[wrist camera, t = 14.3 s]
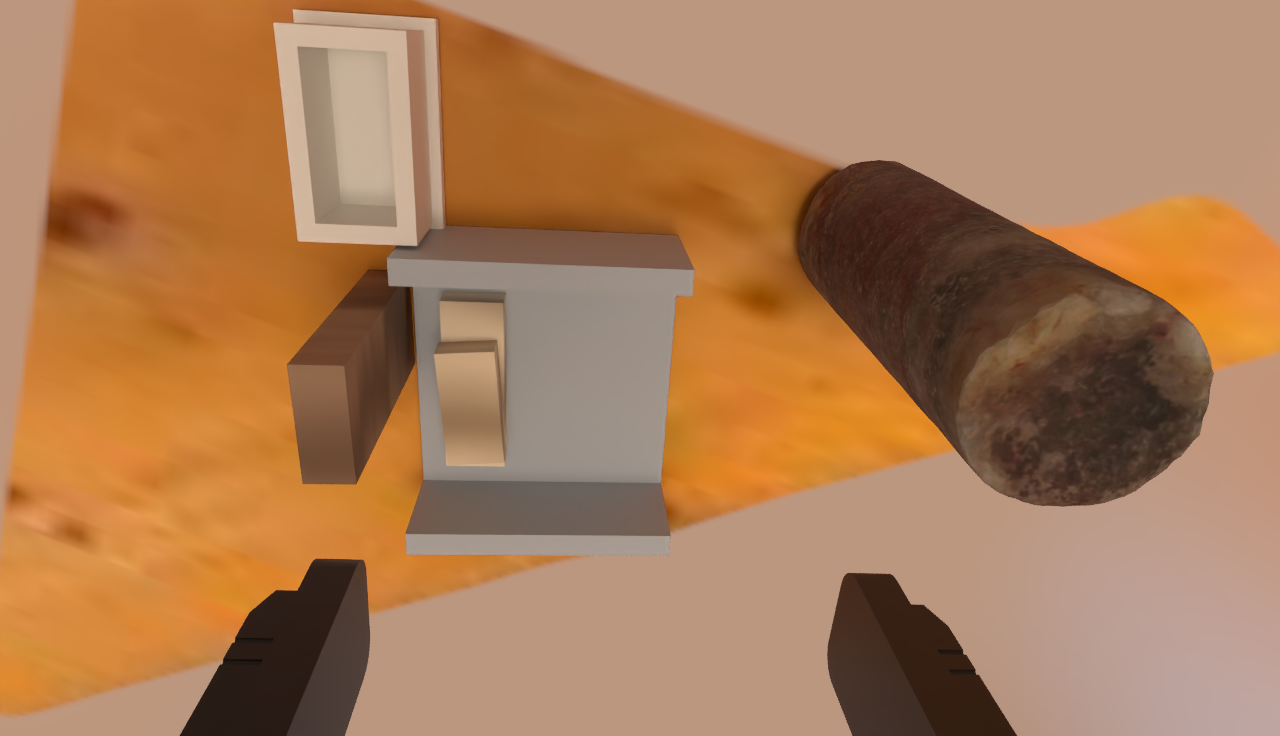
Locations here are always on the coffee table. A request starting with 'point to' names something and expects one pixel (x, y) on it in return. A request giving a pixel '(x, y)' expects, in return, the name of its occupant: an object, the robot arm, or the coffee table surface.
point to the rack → (553, 390)
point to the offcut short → (471, 402)
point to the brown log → (1008, 337)
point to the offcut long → (477, 330)
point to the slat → (351, 379)
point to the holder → (363, 126)
